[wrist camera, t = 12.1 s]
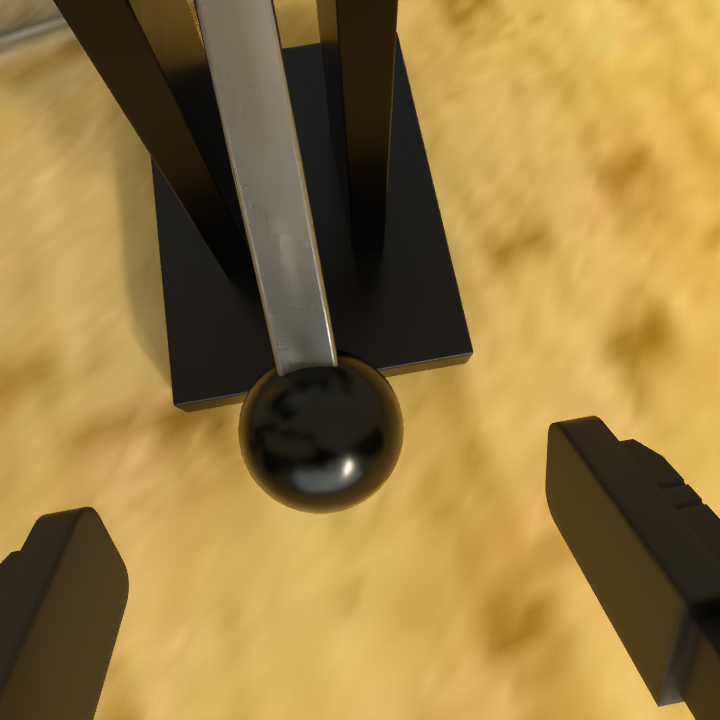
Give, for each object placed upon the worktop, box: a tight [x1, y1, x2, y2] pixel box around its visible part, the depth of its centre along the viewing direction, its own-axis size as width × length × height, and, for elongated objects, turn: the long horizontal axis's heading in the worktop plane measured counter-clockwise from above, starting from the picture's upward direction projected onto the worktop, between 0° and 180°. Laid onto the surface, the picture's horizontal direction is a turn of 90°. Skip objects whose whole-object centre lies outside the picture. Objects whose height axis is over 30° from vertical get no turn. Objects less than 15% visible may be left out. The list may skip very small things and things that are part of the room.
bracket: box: [53, 0, 473, 412], centre depth 12 cm, size 12×9×14 cm
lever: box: [194, 0, 404, 514], centre depth 9 cm, size 13×3×3 cm
